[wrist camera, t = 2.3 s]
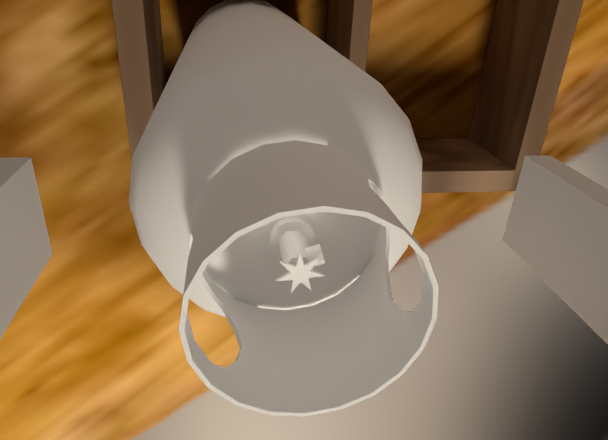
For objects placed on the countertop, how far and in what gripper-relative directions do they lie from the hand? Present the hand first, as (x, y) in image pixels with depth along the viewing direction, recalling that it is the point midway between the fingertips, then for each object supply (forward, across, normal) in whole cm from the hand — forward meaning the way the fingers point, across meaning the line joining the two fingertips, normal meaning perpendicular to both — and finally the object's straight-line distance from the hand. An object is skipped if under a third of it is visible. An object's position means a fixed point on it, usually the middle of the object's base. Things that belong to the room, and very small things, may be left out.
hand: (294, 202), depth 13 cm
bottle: (+23, 0, 0) cm, 23 cm away
